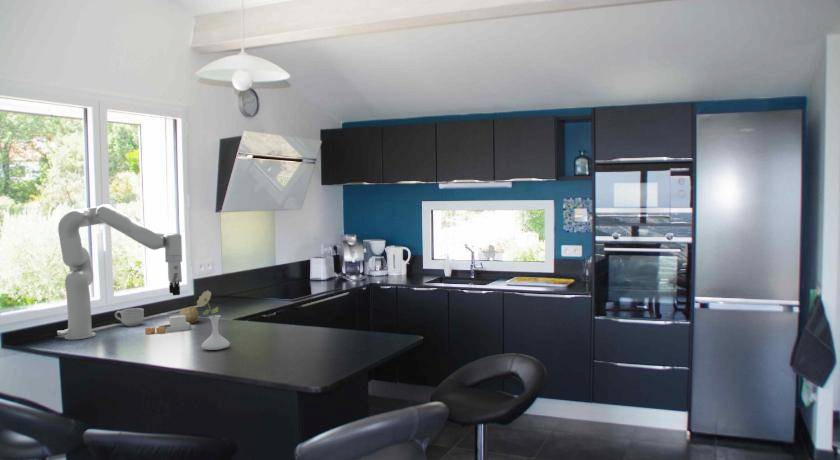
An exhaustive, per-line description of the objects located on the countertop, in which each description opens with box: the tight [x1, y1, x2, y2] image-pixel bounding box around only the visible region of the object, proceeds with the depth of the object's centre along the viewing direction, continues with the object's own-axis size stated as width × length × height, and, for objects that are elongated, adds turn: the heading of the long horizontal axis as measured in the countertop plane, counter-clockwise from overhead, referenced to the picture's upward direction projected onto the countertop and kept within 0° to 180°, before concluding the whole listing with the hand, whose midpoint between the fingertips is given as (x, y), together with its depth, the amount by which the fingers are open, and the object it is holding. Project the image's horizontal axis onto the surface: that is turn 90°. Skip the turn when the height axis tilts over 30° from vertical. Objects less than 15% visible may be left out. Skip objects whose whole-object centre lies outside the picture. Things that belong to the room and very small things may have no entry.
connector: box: [158, 315, 186, 329], centre depth 304 cm, size 12×4×6 cm, turn 120°
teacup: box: [114, 307, 145, 327], centre depth 320 cm, size 14×11×8 cm
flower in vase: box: [196, 290, 230, 351], centre depth 260 cm, size 13×11×25 cm
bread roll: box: [178, 306, 200, 325], centre depth 324 cm, size 10×15×8 cm, turn 25°
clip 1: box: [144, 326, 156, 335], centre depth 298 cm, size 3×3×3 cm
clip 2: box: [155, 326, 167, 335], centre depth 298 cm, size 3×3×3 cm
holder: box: [165, 322, 192, 333], centre depth 305 cm, size 11×8×2 cm
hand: (174, 293), depth 304 cm, fingers open, 9 cm apart
